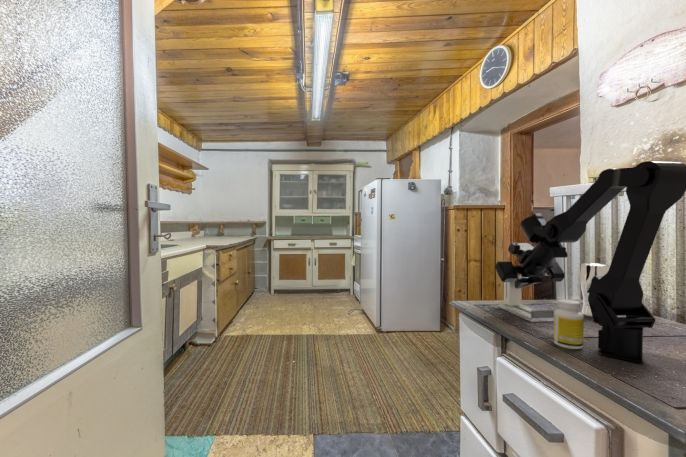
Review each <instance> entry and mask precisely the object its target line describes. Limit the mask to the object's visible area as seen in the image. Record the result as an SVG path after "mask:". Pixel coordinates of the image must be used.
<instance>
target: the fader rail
mask: <svg viewBox="0 0 686 457" xmlns="http://www.w3.org/2000/svg"><path fill="white" fill-rule="evenodd" d="M498 308H500V309H502V310H505V311H506V312H508V313H511V314H513V315H515V316H518V317H520V318H522V319H524V320H527V321H528V322H530V323H541V322H543V323H545V322H554V312H555V310H553V309H535V308H532V307H529V306H527V305H525V304H523V303H521V305H518V306H509V305H507V304H504V303H498Z"/></svg>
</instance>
